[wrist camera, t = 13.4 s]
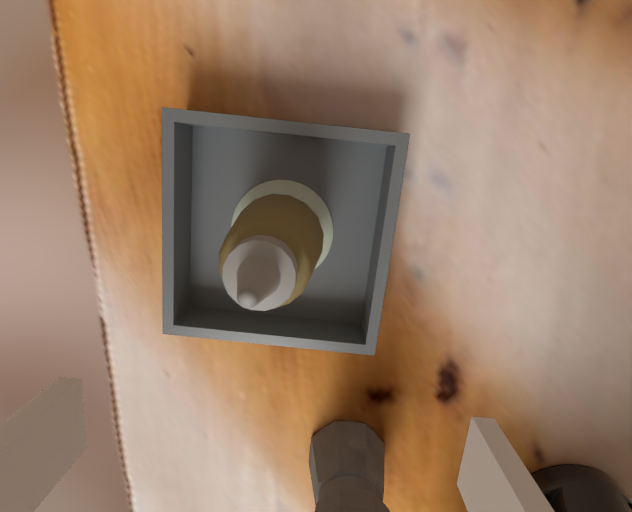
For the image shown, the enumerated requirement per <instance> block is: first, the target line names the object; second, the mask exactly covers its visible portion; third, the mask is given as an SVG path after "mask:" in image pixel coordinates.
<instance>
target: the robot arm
mask: <svg viewBox="0 0 632 512" xmlns="http://www.w3.org/2000/svg"><path fill="white" fill-rule="evenodd" d="M86 448H87V446H86V431H85V417H84V402H83V389H82V379H77V378H67V377H58V378H57V379H56V380H55V381H53V382H52V383H51V384H50V385H48V386H47V387H46V388H45V389H44V390H42V391H41V392H40V393H39V394H37V395H36V396H35V397H34V398H33V399H31V400H30V401H29V402H28V403H26V404H25V405H24V406H23V407H22V408H20V409H19V410H18V411H17V412H15V413H14V414H13V415H12V416H10V417H9V418H8V419H7V420H5V421H4V422H3V423H2V424H1V425H0V512H34V511H35V509H36V508H37V507H38V506H39V505H40V503H41V502H42V501H43V500H44V499H45V497H46V496H47V495H48V494H49V493H50V491H51V490H52V489H53V488H54V487H55V485H56V484H57V483H58V482H59V481H60V479H61V478H62V477H63V476H64V475H65V473H66V472H67V471H68V469H70V467H71V466H72V465H73V464H74V463H75V461H76V460H77V459H78V458H79V456H80V455H81V454H82V453H83V452H84V450H85V449H86ZM457 486H458V489H459V491H460V494H461V496H462V499H463V501H464V504H465V506H466V509H467V511H468V512H632V501H631V499H630V498H629V497H628V495H627V494H626V493H625V492H624V491H623V490H622V489H621V487H620V486H619V485H618V484H617V483H616V482H615V481H614V480H613V479H612V478H611V477H610V476H608V475H607V474H605V473H603V472H602V471H599V470H597V469H594V468H591V467H587V466H582V465H560V466H554V467H550V468H546V469H543V470H541V471H538V472H536V473H534V474H532V475H531V474H530V473H529V471H528V470H527V468H526V467H525V465H524V464H523V462H522V461H521V459H520V457H519V456H518V454H517V453H516V451H515V450H514V448H513V447H512V445H511V444H510V442H509V440H508V439H507V437H506V436H505V434H504V433H503V431H502V430H501V428H500V426H499V425H498V423H497V422H496V420H495V419H493V418H482V417H471V421H470V426H469V430H468V435H467V439H466V444H465V448H464V453H463V457H462V462H461V466H460V471H459V475H458V480H457Z"/></svg>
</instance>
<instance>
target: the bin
mask: <svg viewBox="0 0 632 512" xmlns="http://www.w3.org/2000/svg"><path fill="white" fill-rule="evenodd" d="M409 137H410V134H408V133H398V132H389V131H380V130H370V129H361V128H352V127H342V126H333V125H323V124H314V123H305V122H295V121H286V120H277V119H267V118H258V117H248V116H239V115H230V114H220V113H211V112H202V111H192V110H183V109H173V108H164V107H162V283H163V334H169V335H178V336H188V337H198V338H208V339H217V340H227V341H237V342H247V343H256V344H266V345H276V346H286V347H295V348H305V349H315V350H325V351H334V352H344V353H354V354H364V355H373V356H375V351H376V344H377V338H378V332H379V325H380V319H381V313H382V307H383V300H384V294H385V288H386V282H387V275H388V269H389V263H390V256H391V250H392V244H393V238H394V231H395V225H396V219H397V213H398V206H399V200H400V194H401V188H402V181H403V175H404V169H405V162H406V156H407V150H408V144H409ZM269 194H281V195H291V196H293V197H294V198H296V199H298V200H300V201H302V202H304V203H306V204H307V205H308V206H309V207H310V208H311V210H312V211H313V212H314V213H315V214H316V215H317V216H318V218H319V221H320V224H321V227H322V230H323V233H324V237H323V249H322V253H321V256H320V258H319V260H318V262H317V265H316V267H315V269H314V272H313V274H312V276H311V278H310V280H309V282H308V284H307V286H306V288H305V290H304V292H303V293H302V294H301V295H299V296H298V297H297V298H296V299H294V300H293V301H292V302H291V303H289V304H286V305H283V306H280V307H277V308H274V309H270V310H267V311H257V310H250V309H247V308H243V307H241V306H240V305H239V304H237V303H236V302H235V301H234V300H233V299H232V298H231V296H230V295H229V294H228V293H227V291H226V288H225V286H224V283H223V281H222V277H221V275H220V272H219V251H220V248H221V246H222V244H223V242H224V239H225V237H226V235H227V234H228V232H229V230H230V229H231V227H232V225H233V224H234V222H235V221H236V219H237V217H238V216H239V214H240V212H241V211H242V210H243V209H244V208H245V207H247V206H248V205H249V204H250V203H251V202H252V201H253V200H254V199H257V198H260V197H263V196H266V195H269Z"/></svg>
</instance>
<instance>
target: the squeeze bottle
mask: <svg viewBox="0 0 632 512" xmlns="http://www.w3.org/2000/svg"><path fill="white" fill-rule="evenodd" d="M323 237H324V233H323V230H322V227H321V224H320V221H319V218H318V216H317V215H316V214H315V213H314V212H313V211H312V210H311V208H310V207H309V206H308V205H307V204H306V203H304V202H302V201H300V200H298V199H296V198H294V197H293V196H291V195H281V194H269V195H266V196H263V197H260V198H257V199H254V200H253V201H252V202H251V203H250V204H249V205H248V206H247V207H245V208H244V209H243V210H242V211H241V212H240V214H239V216H238V217H237V219H236V221H235V222H234V224H233V225H232V227H231V229H230V230H229V232H228V234H227V235H226V237H225V239H224V242H223V244H222V246H221V248H220V251H219V272H220V275H221V277H222V281H223V283H224V286H225V288H226V291H227V293H228V294H229V295H230V296H231V298H232V299H233V300H234V301H235V302H236V303H237V304H239V305H240V306H241V307H243V308H247V309H250V310H257V311H267V310H270V309H274V308H277V307H280V306H283V305H286V304H289V303H291V302H292V301H293V300H294V299H296V298H297V297H298V296H299V295H301V294H302V293H303V292H304V290H305V288H306V286H307V284H308V282H309V280H310V278H311V276H312V274H313V272H314V269H315V267H316V265H317V262H318V260H319V258H320V256H321V253H322V249H323Z"/></svg>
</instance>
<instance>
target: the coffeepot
mask: <svg viewBox="0 0 632 512" xmlns="http://www.w3.org/2000/svg"><path fill="white" fill-rule="evenodd" d="M309 467H310V473H311V479H312V486H313V492H314V498H315V504H316V508H315V512H390V511H389V509H388V508H387V507H386V505H385V504H384V503H383V494H384V443H383V442H382V441H381V440H380V438H379V437H378V436H377V435H376V433H375V432H374V431H373V430H372V429H371V428H369V427H368V426H367V425H366V424H364V423H360V422H355V421H334V422H332V423H330V424H328V425H327V426H325V427H323V428H322V429H321V430H320V431H318V433H317V434H315V435H314V436H313V437H311V446H310V455H309Z"/></svg>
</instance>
